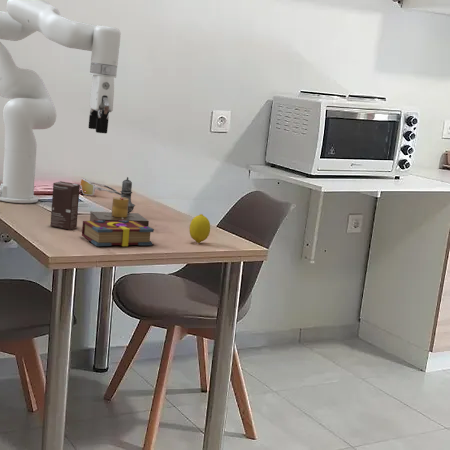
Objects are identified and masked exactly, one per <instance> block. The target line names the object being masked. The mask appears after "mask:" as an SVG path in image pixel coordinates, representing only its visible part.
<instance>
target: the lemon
mask: <svg viewBox="0 0 450 450" xmlns="http://www.w3.org/2000/svg"><path fill="white" fill-rule="evenodd" d="M188 232H189V235H190V237H191V239H192V240H193V241H195V242H196V243H197V244H201V242H203V241H206V240H207V239H208V238H209V236H210V233H211V222H210V220H209V218H207V217H206V216H205V215H204V214H203V213H199V215H196V216H194V217H193V218H192V219H191V221H190V224H189V231H188Z"/></svg>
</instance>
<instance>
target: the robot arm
mask: <svg viewBox="0 0 450 450" xmlns="http://www.w3.org/2000/svg"><path fill="white" fill-rule="evenodd" d="M5 7H6V11H3V10H0V40H3V41H4V40H5V41H10V42H17V41H18V42H19V41H22V40H24V39H26V38H28V37H29V36H31V35H33V34H34V33H36V32H38V33H40V34H42V35H43V36H44V37H45V38H46V39H48V40H50V41H52V42H54V43H56V44H58V45H60V46H63V47H66V48H69V49H74V50H81V51H89V52H91V55H90V56H91V57H90V67H89V75H92V80H91V86H90V87H91V88H90V93H89V95H90V96H89V108H90V111H89V116H88V129H90V130H95V133H96V134H97V133H98V134H108V127H109V118H110V115H109V114H110V113H112V112H113V110H114V97H115V79H116V78H117V76H118V75H117V74H118V64H119V54H120V45H121V34H122V33H121V30H120V29H119V28H117V27H113V26H107V25H96V24H93V23H92V24H91V23H86V22H83V21H82V22H81V21H77V20H74V19H73V20H72V19H69V18H67V17H64V16H62V15H61V13H60V10H59V9H58V8H57V7H56V6H54V5H51V4H50V2H49V1H48V0H7V2H6V6H5ZM0 97H1V98H5V99H9V100H8V101H6V103H5V104H4V107H3V109H2V110H3V111H2V119H3V126H4V147H3V148H4V152H3V153H4V154H3V170H2V171H3V172H2V183H0V201H1V202H5V203H14V204H33V203H38V202H39V196H38V195H35V179H36V164H37V163H36V161H37V146H38V145H37V138H36V136H35V133H34V130H48V129H50V128H51V127H53V126H54V124H55V122H56V120H57V110H56V106H55V104H54V102H53V100H52V97H51V95H50V93H49V91H48V88H47V87H46V85H45V83H44V80H43V79H42V77H41V76H40V74H38V73H37V72H36V71H34V70H32V69H28V68H20V67H18V66H17V64H16V63H15V61H14V59H13V57H12V54H11V53H10V50H9V49H8V48H7V47H6V46H5V45H4V44H3V43H2V42H1V41H0Z"/></svg>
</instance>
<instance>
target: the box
mask: <svg viewBox="0 0 450 450" xmlns="http://www.w3.org/2000/svg"><path fill="white" fill-rule="evenodd" d="M80 185H81V184H79V183H73V182H67V181H56V182H53V184H52V196H51V197H52V199H51V211H50V212H51V213H50V227H54V228H60V229H64V230H75V229H76V228H78V216H79V215H78V213H79V204H80V203H79V202H80V192H81V191H80Z"/></svg>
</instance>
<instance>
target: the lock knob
mask: <svg viewBox="0 0 450 450" xmlns="http://www.w3.org/2000/svg"><path fill="white" fill-rule="evenodd" d="M128 202H129V199H128V198H123V197H121V196H114V197H112V205H111V212H112V216H114V217H121V218H124V217H127V214H128Z"/></svg>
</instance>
